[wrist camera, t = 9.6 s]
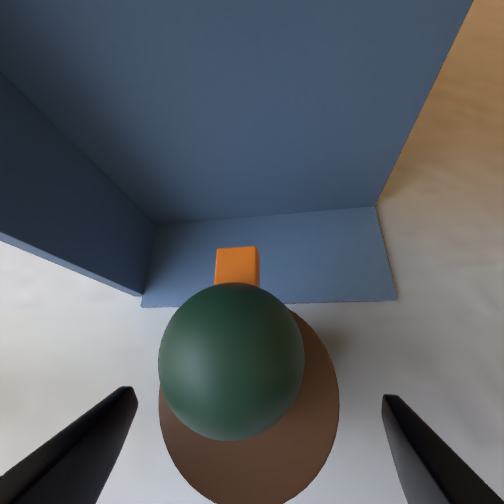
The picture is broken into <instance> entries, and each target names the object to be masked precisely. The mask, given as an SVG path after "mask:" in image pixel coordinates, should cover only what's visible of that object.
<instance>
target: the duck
mask: <svg viewBox="0 0 504 504" xmlns="http://www.w3.org/2000/svg"><path fill="white" fill-rule="evenodd" d="M158 371H159V379H160V390H159V418H160V426H161V430H162V434H163V439H164V441H165V444H166V447H167V450H168V452H169V454H170V456H171V458H172V460H173V462H174V464H175V466H176V467H177V469H178V470H179V472H180V473H181V475H182V476H183V477H184V478H185V480H186V481H187V482H188V483H189V484H190V485H191V486H192V487H193V488H194V489H195V490H197V491H198V492H199V493H200V494H201V495H203V496H204V497H206V498H208V499H209V500H211V501H212V502H214V503H217V504H283V503H285V502H287V501H288V500H290V499H292V498H294V497H295V496H296V495H298V494H299V493H300V492H301V491H303V490H304V489H305V488H306V487H307V486H308V485H309V484H310V483H311V482H312V481H313V480H314V478H315V477H316V476H317V475H318V473H319V472H320V470H321V469H322V467H323V466H324V464H325V462H326V460H327V458H328V456H329V454H330V451H331V449H332V446H333V443H334V440H335V437H336V432H337V427H338V421H339V406H340V404H339V390H338V384H337V378H336V374H335V371H334V367H333V364H332V361H331V359H330V357H329V355H328V352H327V350H326V348H325V347H324V345H323V343H322V341H321V340H320V338H319V337H318V336H317V334H316V333H315V332H314V330H313V329H312V328H311V327H310V326H309V325H308V324H307V323H306V322H305V321H304V320H303V319H302V318H301V317H299V316H298V315H297V314H296V313H294V312H292V311H291V310H289V309H288V308H287V307H286V306H285V305H284V304H283V303H282V302H281V301H280V300H279V299H278V298H276V297H275V296H274V295H272V294H271V293H269V292H268V291H266V290H264V289H262V288H260V254H259V252H258V249H257V247H256V246H245V247H229V248H218V249H217V255H216V267H215V279H214V285H213V286H210V287H207V288H205V289H203V290H201V291H199V292H198V293H196V294H195V295H193V296H192V297H190V298H189V299H188V300H187V301H186V302H184V303H183V304H182V306H181V307H180V308H179V309H178V310H177V311H176V313H175V314H174V315H173V317H172V318H171V320H170V322H169V323H168V325H167V327H166V330H165V332H164V335H163V337H162V340H161V345H160V349H159V358H158Z"/></svg>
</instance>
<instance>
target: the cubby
mask: <svg viewBox="0 0 504 504" xmlns="http://www.w3.org/2000/svg"><path fill="white" fill-rule="evenodd" d="M472 2H473V0H0V241H3V242H5V243H7V244H10V245H12V246H15V247H17V248H20V249H22V250H24V251H27V252H29V253H32V254H34V255H36V256H39V257H41V258H44V259H46V260H48V261H51V262H53V263H56V264H58V265H61V266H63V267H65V268H68V269H70V270H73V271H75V272H77V273H80V274H82V275H85V276H87V277H89V278H92V279H94V280H97V281H99V282H102V283H104V284H106V285H109V286H111V287H114V288H116V289H118V290H121V291H123V292H126V293H128V294H130V295H133V296H143V297H142V302H141V307H143V308H148V307H181V306H182V304H183V303H184V302H186V301H187V300H188V299H189V298H190V297H192V296H193V295H195V294H196V293H198V292H199V291H201V290H203V289H205V288H207V287H210V286H213V285H214V279H215V267H216V255H217V249H218V248H229V247H245V246H256V247H257V249H258V252H259V254H260V288H262V289H264V290H266V291H268V292H269V293H271V294H272V295H274V296H275V297H276V298H278V299H279V300H280V301H281V302H282V303H283V304H296V303H333V302H370V301H396V300H397V295H396V291H395V287H394V282H393V278H392V274H391V270H390V266H389V262H388V258H387V253H386V249H385V245H384V241H383V237H382V233H381V229H380V225H379V220H378V216H377V212H376V208H375V205H376V203H377V201H378V198H379V196H380V194H381V192H382V190H383V188H384V186H385V184H386V182H387V180H388V178H389V175H390V173H391V171H392V169H393V167H394V165H395V163H396V161H397V159H398V157H399V155H400V153H401V150H402V148H403V146H404V144H405V142H406V140H407V138H408V136H409V134H410V132H411V130H412V128H413V125H414V123H415V121H416V119H417V117H418V115H419V113H420V111H421V109H422V107H423V105H424V102H425V100H426V98H427V96H428V94H429V92H430V90H431V88H432V86H433V84H434V82H435V80H436V77H437V75H438V73H439V71H440V69H441V67H442V65H443V63H444V61H445V59H446V57H447V55H448V52H449V50H450V48H451V46H452V44H453V42H454V40H455V38H456V36H457V34H458V32H459V29H460V27H461V25H462V23H463V21H464V19H465V17H466V15H467V13H468V11H469V9H470V7H471V4H472Z"/></svg>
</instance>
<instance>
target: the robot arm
mask: <svg viewBox="0 0 504 504" xmlns="http://www.w3.org/2000/svg"><path fill="white" fill-rule="evenodd" d="M137 408H138V400H137V397H136V395H135V392H134V389H133V388H132V387H131V386H122V387H120V388H118V389H117V390H116V391H114V392H113V393H111V394H110V395H109V396H107V397H106V398H105V399H103V400H102V401H101V402H99V403H98V404H97V405H95V406H94V407H93V408H91V409H90V410H89V411H87V412H86V413H85V414H83V415H82V416H81V417H79V418H78V419H77V420H75V421H74V422H73V423H71V424H70V425H69V426H67V427H66V428H65V429H63V430H62V431H61V432H59V433H58V434H57V435H55V436H54V437H53V438H51V439H50V440H49V441H47V442H46V443H44V444H43V445H42V446H40V447H39V448H38V449H36V450H35V451H34V452H32V453H31V454H30V455H28V456H27V457H26V458H24V459H23V460H22V461H20V462H19V463H18V464H16V465H15V466H14V467H12V468H11V469H10V470H8V471H7V472H6V473H4V475H3V476H0V504H96V502H97V500H98V498H99V496H100V493H101V491H102V489H103V487H104V485H105V483H106V481H107V479H108V477H109V475H110V473H111V471H112V469H113V467H114V465H115V463H116V460H117V458H118V456H119V454H120V451H121V449H122V447H123V444H124V441H125V439H126V436H127V434H128V431H129V429H130V426H131V424H132V421H133V419H134V416H135V413H136V411H137ZM381 414H382V420H383V424H384V427H385V431H386V434H387V438H388V442H389V445H390V449H391V452H392V456H393V459H394V463H395V467H396V470H397V473H398V477H399V480H400V483H401V485H402V488H403V491H404V494H405V496H406V499H407V501H408V504H504V501H503V500H502V499H501V498H500V497H499V496H498V495H497V494H496V493H495V492H494V491H493V490H492V489H491V488H490V487H489V486H488V485H487V484H486V483H485V482H484V481H483V480H482V479H481V478H480V477H479V476H478V475H477V474H476V473H475V472H474V471H473V470H472V469H471V468H470V467H469V466H468V465H467V464H466V463H465V462H464V461H463V460H462V459H461V458H460V457H459V456H458V455H457V454H456V453H455V452H454V451H453V450H452V449H451V448H450V447H449V446H448V445H447V444H446V443H445V442H444V441H443V440H442V439H441V438H440V437H439V436H438V435H437V434H436V433H435V432H434V431H433V430H432V429H431V428H430V427H429V426H428V425H427V424H426V423H425V422H424V421H423V420H422V419H421V418H420V417H419V416H418V415H417V414H416V413H415V412H414V411H413V410H412V409H411V408H410V407H409V406H408V405H407V404H406V403H405V402H404V401H403V400H402V399H401V398H400V397H399V396H398V395H394V394H384V395H383V400H382V411H381Z"/></svg>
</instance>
